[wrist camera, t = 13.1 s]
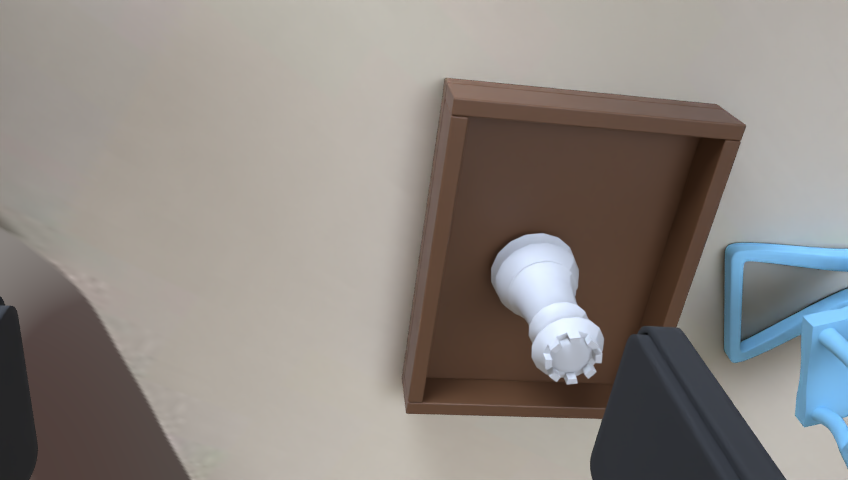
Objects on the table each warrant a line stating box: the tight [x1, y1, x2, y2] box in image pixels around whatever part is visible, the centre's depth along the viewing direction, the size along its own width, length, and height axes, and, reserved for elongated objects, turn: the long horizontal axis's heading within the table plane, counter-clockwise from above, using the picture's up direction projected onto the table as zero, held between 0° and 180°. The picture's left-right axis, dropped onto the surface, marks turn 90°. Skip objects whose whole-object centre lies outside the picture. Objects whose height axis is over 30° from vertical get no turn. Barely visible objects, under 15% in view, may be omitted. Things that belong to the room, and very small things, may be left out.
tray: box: [402, 78, 746, 419], centre depth 38 cm, size 18×14×3 cm
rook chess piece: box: [491, 233, 604, 384], centre depth 35 cm, size 4×4×8 cm
